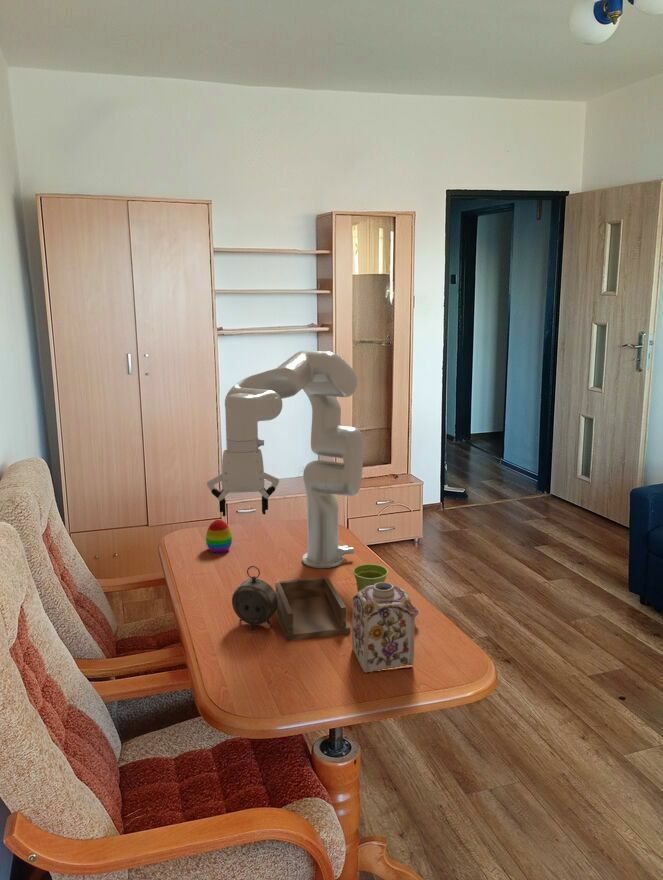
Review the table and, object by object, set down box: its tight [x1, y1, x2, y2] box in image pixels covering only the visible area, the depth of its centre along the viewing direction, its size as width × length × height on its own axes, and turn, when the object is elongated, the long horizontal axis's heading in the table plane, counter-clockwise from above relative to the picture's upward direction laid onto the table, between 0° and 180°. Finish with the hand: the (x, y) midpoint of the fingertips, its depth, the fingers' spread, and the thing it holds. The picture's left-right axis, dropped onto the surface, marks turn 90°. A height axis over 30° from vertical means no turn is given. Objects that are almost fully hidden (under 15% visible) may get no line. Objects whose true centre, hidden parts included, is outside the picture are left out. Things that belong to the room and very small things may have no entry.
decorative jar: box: [351, 581, 416, 674], centre depth 163 cm, size 12×12×18 cm
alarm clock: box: [231, 565, 278, 631], centre depth 178 cm, size 11×5×16 cm, turn 71°
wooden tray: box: [274, 576, 351, 642], centre depth 183 cm, size 16×20×6 cm
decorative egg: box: [205, 519, 233, 554], centre depth 229 cm, size 8×8×10 cm
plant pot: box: [352, 563, 389, 593], centre depth 193 cm, size 9×9×9 cm
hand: (244, 513), depth 175 cm, fingers open, 9 cm apart
